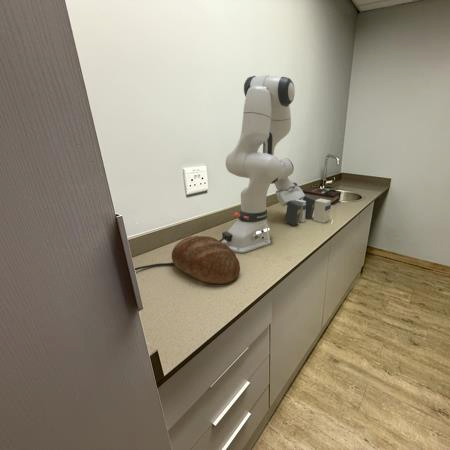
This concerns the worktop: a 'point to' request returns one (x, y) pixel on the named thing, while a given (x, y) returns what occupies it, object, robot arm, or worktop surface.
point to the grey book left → (293, 213)
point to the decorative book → (323, 194)
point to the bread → (206, 259)
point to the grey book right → (309, 206)
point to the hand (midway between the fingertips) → (299, 208)
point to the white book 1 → (302, 210)
